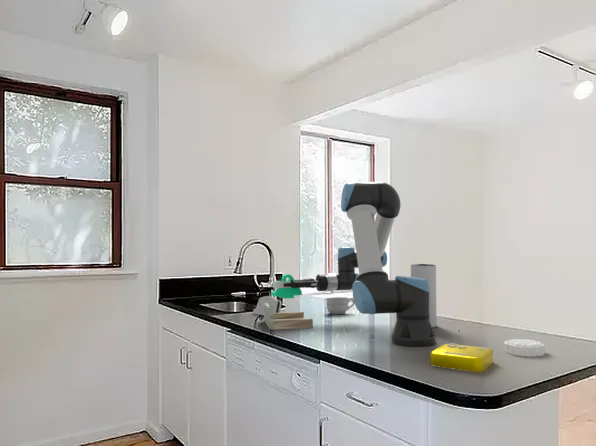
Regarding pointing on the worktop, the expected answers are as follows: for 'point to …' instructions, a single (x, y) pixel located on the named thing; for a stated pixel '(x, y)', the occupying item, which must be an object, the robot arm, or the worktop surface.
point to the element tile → (462, 357)
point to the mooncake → (524, 347)
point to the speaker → (430, 275)
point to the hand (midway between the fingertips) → (274, 284)
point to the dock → (285, 319)
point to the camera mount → (286, 289)
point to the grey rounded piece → (271, 301)
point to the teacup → (338, 305)
